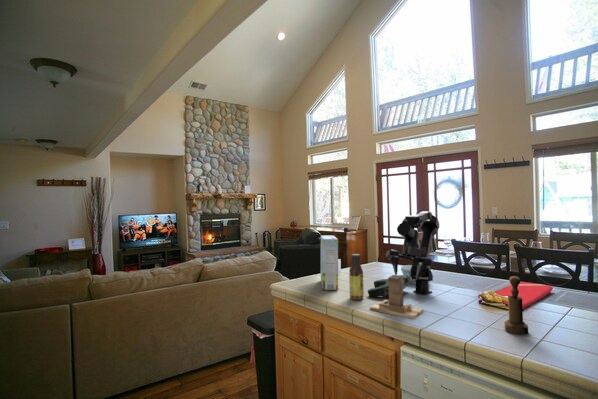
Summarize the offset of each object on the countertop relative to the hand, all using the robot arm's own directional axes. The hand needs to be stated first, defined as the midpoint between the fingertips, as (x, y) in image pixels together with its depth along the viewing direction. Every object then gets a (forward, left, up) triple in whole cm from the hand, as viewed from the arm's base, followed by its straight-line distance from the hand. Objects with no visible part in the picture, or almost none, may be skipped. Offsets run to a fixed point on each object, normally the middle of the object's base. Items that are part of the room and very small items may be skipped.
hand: (406, 277), depth 141 cm
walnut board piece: (+11, +3, -10) cm, 15 cm away
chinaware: (-36, -19, -11) cm, 42 cm away
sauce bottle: (+11, -19, -11) cm, 25 cm away
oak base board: (+12, +3, -11) cm, 17 cm away
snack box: (+3, -45, -11) cm, 47 cm away
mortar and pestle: (-1, +41, -11) cm, 42 cm away
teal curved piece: (-3, -22, -10) cm, 24 cm away
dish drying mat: (-43, +27, -12) cm, 52 cm away
